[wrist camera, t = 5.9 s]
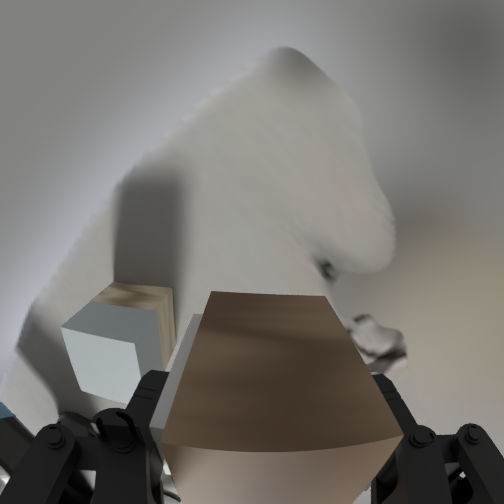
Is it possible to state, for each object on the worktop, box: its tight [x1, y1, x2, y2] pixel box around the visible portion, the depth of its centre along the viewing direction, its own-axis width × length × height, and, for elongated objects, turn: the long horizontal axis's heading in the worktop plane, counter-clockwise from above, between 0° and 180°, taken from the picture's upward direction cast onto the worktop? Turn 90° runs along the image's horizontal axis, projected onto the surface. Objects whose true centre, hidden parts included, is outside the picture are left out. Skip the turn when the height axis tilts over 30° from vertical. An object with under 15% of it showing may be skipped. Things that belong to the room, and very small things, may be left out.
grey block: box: [61, 301, 164, 404], centre depth 24 cm, size 8×8×6 cm
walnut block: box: [160, 291, 404, 504], centre depth 9 cm, size 5×5×8 cm
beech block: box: [91, 282, 176, 371], centre depth 30 cm, size 8×8×6 cm
